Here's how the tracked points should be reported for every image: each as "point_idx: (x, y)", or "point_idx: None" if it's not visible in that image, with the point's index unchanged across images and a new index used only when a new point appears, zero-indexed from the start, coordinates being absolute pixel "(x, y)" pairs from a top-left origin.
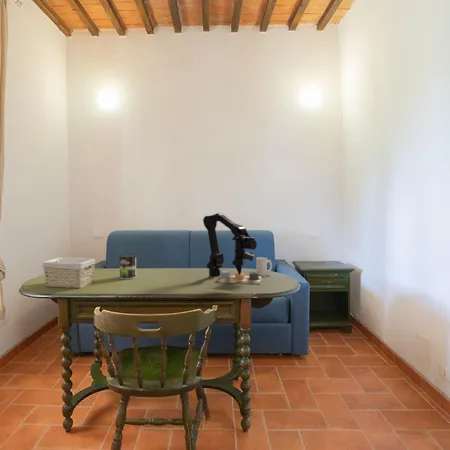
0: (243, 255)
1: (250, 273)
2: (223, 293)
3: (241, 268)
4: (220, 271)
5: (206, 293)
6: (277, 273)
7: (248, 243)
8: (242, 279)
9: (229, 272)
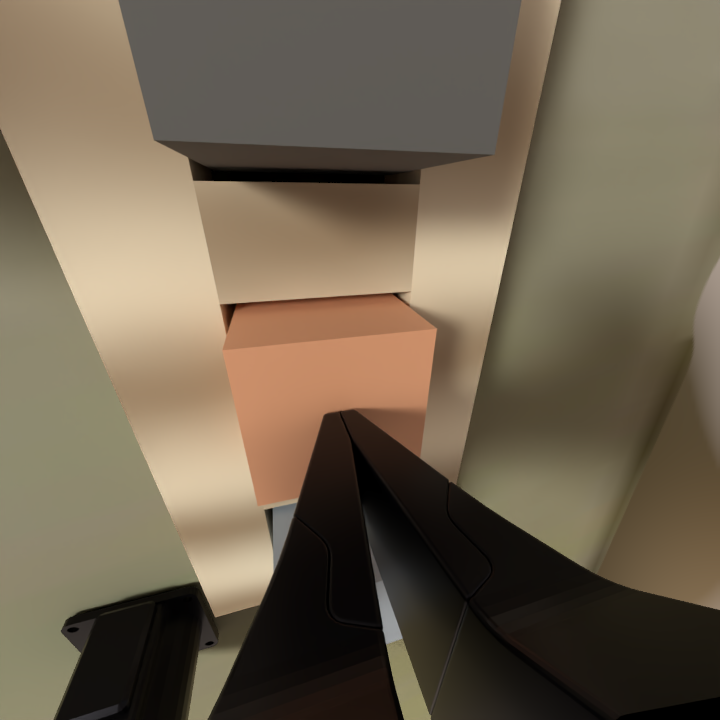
0: None
1: (486, 112)
2: (656, 386)
3: (473, 498)
4: (75, 694)
5: (621, 474)
6: None
7: None
8: (422, 314)
9: (379, 575)
